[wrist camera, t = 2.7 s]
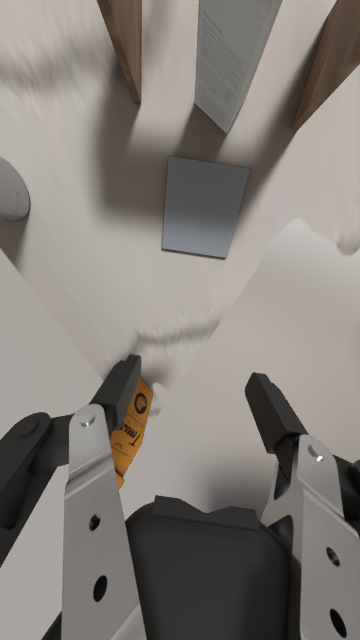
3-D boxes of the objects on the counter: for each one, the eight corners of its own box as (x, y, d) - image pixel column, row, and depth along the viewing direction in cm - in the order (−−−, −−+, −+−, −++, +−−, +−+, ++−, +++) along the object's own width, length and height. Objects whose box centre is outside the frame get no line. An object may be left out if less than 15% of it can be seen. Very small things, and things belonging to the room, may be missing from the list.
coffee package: (140, 367, 44) (101, 464, 24) (157, 393, 49) (137, 490, 29) (113, 375, 46) (57, 470, 26) (132, 398, 51) (98, 493, 31)
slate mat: (162, 248, 29) (162, 248, 28) (168, 157, 23) (168, 155, 22) (226, 257, 29) (227, 257, 28) (248, 170, 23) (250, 168, 22)
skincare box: (246, 96, 20) (317, -83, 9) (226, 136, 21) (264, 24, 11) (211, 58, 18) (245, -203, 8) (193, 103, 20) (198, -60, 9)
